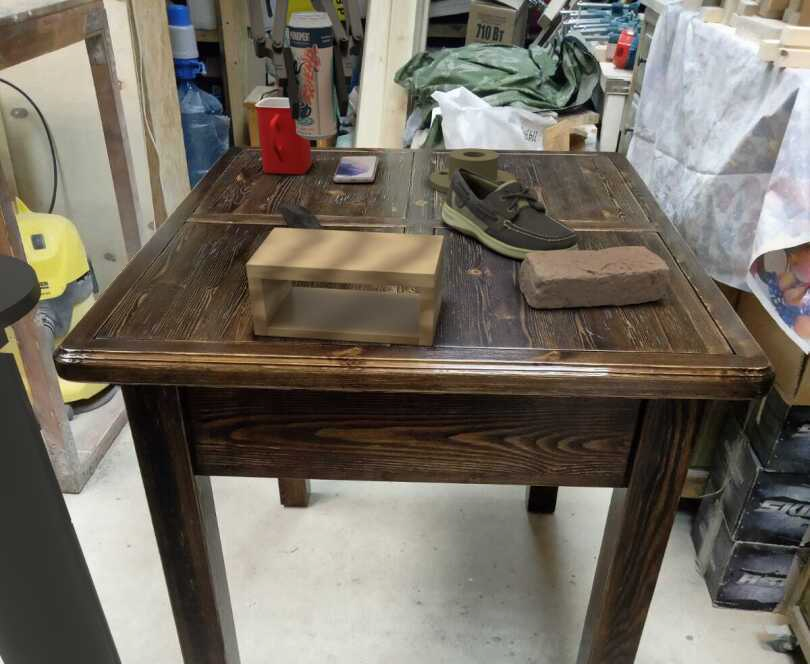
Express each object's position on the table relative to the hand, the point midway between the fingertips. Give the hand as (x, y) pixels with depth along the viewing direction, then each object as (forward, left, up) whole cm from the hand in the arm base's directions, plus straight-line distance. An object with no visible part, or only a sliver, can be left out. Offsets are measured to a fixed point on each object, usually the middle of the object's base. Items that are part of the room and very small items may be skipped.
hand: (320, 109), depth 85 cm
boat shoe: (+22, +19, -20) cm, 35 cm away
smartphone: (-5, +52, -20) cm, 56 cm away
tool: (-4, +15, -20) cm, 25 cm away
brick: (+33, +1, -20) cm, 38 cm away
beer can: (-1, +3, -4) cm, 5 cm away
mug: (-18, +51, -20) cm, 57 cm away
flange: (+16, +48, -20) cm, 54 cm away
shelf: (+5, -10, -20) cm, 23 cm away
